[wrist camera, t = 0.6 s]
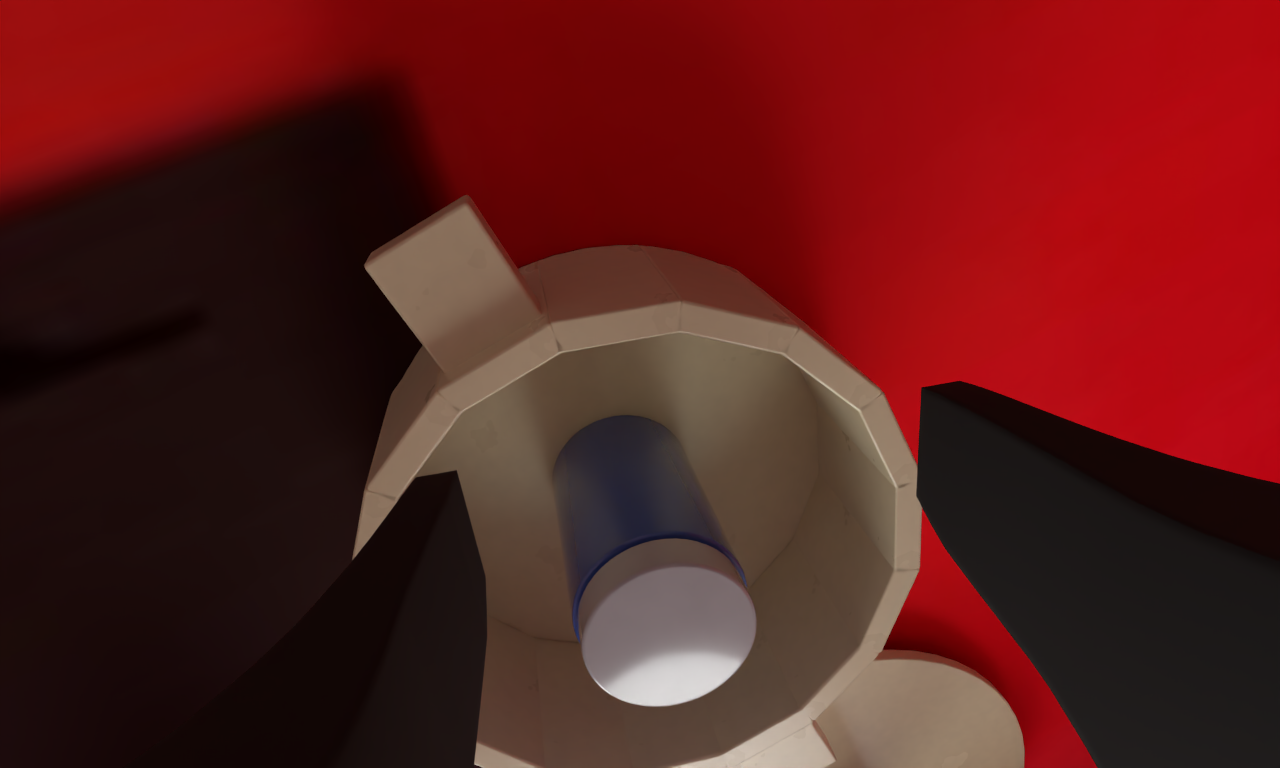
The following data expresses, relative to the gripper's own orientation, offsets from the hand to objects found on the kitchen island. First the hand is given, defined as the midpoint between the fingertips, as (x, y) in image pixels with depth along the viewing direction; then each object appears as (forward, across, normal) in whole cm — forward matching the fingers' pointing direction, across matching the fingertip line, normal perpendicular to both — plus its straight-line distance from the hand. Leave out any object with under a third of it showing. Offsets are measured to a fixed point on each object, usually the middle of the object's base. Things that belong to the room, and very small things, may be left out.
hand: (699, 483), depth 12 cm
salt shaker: (+9, +1, +6) cm, 11 cm away
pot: (+10, +1, +6) cm, 11 cm away
